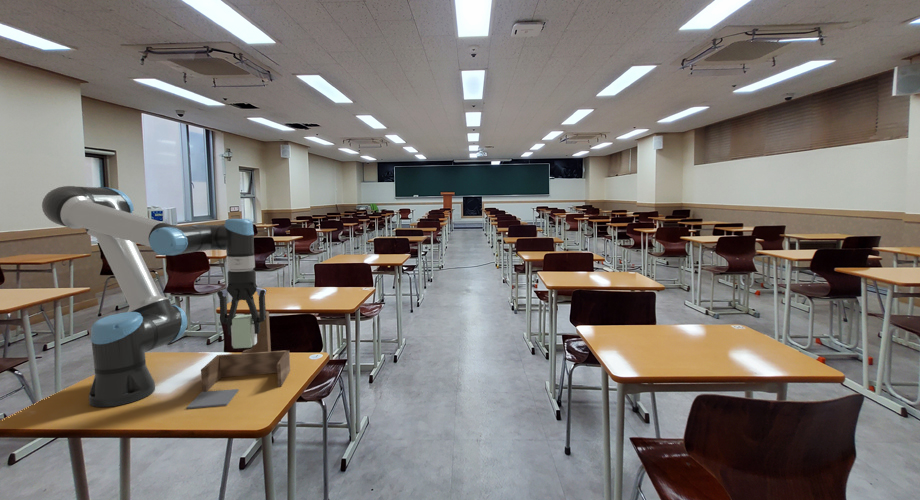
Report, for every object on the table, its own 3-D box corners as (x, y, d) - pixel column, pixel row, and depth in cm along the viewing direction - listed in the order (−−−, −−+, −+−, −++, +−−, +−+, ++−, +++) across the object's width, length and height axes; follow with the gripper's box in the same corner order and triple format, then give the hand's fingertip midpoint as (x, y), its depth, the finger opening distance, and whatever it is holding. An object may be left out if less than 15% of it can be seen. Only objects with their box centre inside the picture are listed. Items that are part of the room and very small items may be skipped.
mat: (186, 408, 117) (186, 407, 117) (201, 393, 127) (201, 391, 126) (226, 405, 119) (226, 403, 118) (238, 390, 128) (238, 388, 128)
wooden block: (240, 367, 147) (237, 315, 146) (244, 362, 152) (241, 312, 150) (269, 364, 150) (266, 313, 148) (271, 360, 154) (268, 310, 152)
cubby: (202, 392, 127) (200, 369, 126) (218, 376, 140) (217, 355, 139) (281, 386, 131) (280, 364, 130) (290, 370, 144) (289, 350, 143)
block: (233, 348, 130) (231, 319, 130) (238, 343, 135) (237, 315, 134) (251, 347, 131) (249, 318, 130) (255, 342, 136) (254, 314, 135)
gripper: (204, 272, 126) (208, 349, 128) (269, 270, 129) (272, 346, 131) (213, 268, 133) (217, 342, 135) (275, 267, 136) (278, 339, 139)
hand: (244, 344), depth 133 cm, fingers closed on block, 5 cm apart
